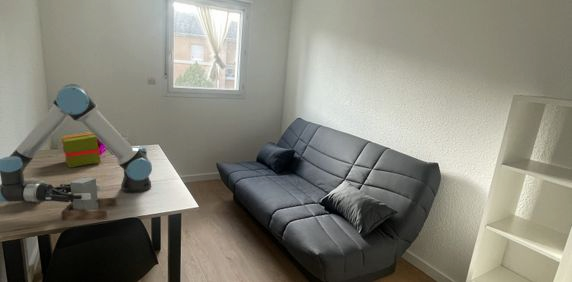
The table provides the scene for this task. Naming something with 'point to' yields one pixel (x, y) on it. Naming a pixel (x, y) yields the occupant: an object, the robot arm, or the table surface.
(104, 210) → the walnut u-shaped frame
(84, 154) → the gift box
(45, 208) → the table surface
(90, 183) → the skincare box
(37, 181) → the grey ribbed rounded piece
